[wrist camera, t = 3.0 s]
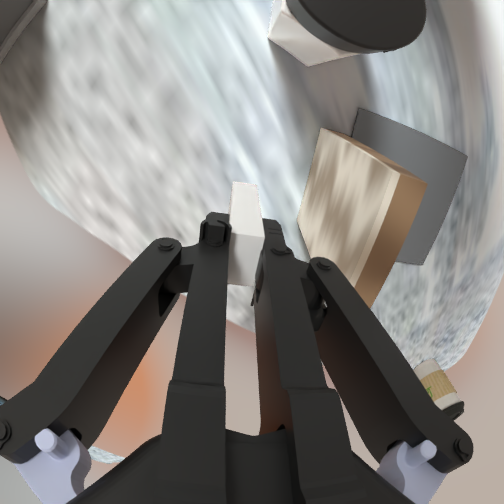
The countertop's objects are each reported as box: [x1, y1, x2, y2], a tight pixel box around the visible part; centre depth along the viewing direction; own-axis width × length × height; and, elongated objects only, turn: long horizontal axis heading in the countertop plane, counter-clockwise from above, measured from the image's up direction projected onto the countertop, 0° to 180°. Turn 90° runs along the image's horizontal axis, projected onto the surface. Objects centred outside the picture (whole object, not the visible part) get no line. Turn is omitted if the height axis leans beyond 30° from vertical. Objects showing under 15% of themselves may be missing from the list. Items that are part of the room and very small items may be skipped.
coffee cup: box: [413, 359, 464, 421], centre depth 43 cm, size 10×10×15 cm
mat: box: [351, 108, 468, 265], centre depth 28 cm, size 16×16×1 cm
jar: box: [267, 0, 426, 67], centre depth 13 cm, size 9×8×12 cm
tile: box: [297, 128, 428, 308], centre depth 21 cm, size 10×2×14 cm, turn 170°
